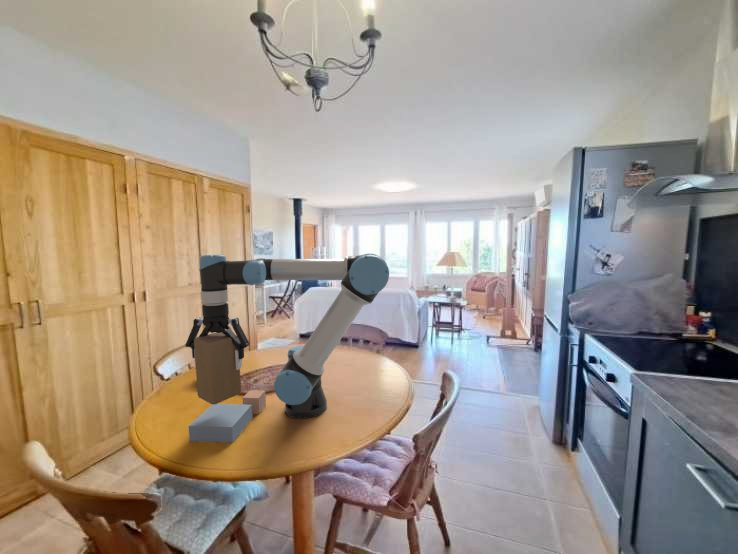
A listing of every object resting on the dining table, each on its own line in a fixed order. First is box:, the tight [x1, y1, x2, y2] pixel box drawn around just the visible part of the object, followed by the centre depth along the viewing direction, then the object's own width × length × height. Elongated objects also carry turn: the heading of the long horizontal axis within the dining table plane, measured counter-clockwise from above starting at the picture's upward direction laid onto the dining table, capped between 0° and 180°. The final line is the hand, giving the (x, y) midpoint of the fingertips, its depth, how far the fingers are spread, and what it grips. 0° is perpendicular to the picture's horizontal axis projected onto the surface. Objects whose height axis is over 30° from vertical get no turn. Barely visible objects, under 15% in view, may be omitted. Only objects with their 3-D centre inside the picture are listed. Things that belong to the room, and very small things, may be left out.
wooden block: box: [194, 332, 242, 405], centre depth 104 cm, size 10×10×20 cm
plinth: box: [188, 403, 254, 444], centre depth 106 cm, size 14×14×5 cm
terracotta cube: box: [242, 389, 267, 415], centre depth 119 cm, size 6×6×6 cm
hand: (219, 368), depth 105 cm, fingers closed on wooden block, 13 cm apart
